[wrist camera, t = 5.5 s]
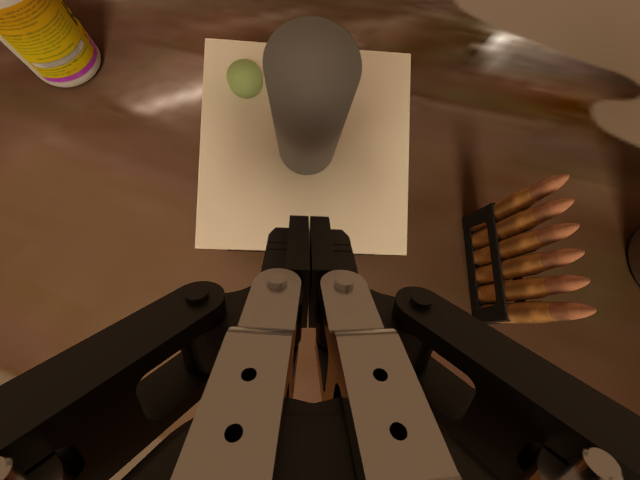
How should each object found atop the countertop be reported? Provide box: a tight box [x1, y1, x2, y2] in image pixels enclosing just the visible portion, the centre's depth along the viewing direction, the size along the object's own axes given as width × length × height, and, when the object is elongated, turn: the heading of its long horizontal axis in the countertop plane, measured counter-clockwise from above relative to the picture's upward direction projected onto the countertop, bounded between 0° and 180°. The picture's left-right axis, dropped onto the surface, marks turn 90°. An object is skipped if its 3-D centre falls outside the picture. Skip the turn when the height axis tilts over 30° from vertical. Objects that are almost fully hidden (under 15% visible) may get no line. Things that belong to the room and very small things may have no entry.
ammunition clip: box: [462, 174, 597, 324], centre depth 26 cm, size 11×2×12 cm, turn 179°
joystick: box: [195, 16, 411, 255], centre depth 18 cm, size 15×15×11 cm
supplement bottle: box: [0, 0, 101, 87], centre depth 28 cm, size 7×7×13 cm
